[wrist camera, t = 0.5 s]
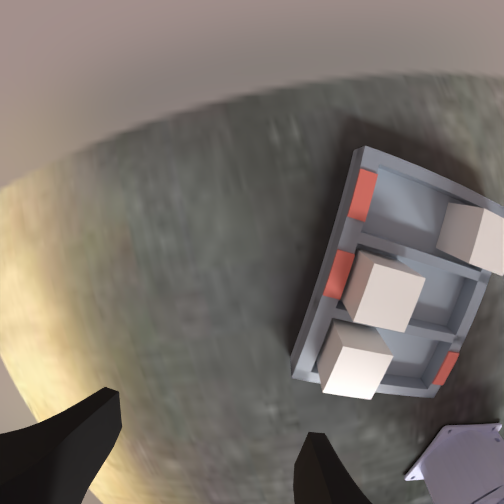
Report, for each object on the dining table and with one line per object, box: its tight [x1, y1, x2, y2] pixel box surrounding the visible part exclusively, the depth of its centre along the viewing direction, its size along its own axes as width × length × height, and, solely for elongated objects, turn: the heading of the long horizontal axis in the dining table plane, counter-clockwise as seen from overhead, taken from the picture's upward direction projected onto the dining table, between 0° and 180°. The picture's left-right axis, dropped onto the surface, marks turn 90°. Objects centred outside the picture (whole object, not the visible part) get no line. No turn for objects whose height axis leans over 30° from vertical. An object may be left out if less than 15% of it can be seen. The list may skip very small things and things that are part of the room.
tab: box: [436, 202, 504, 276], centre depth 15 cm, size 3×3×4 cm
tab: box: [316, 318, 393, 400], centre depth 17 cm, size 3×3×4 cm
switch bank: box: [290, 146, 504, 398], centre depth 18 cm, size 11×14×3 cm
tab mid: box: [341, 247, 426, 333], centre depth 16 cm, size 3×3×4 cm
